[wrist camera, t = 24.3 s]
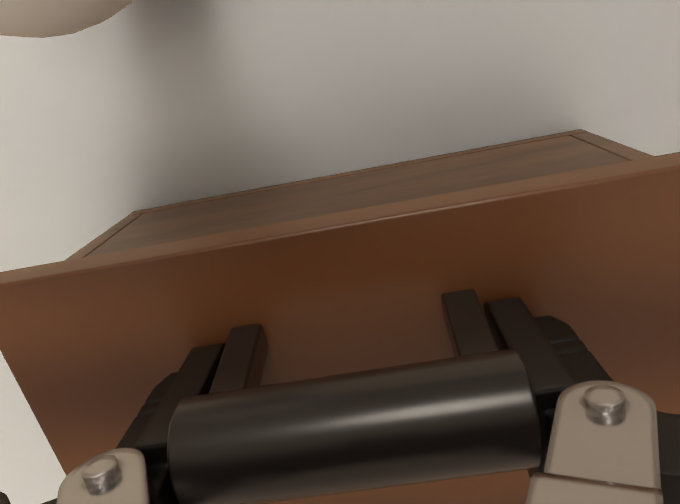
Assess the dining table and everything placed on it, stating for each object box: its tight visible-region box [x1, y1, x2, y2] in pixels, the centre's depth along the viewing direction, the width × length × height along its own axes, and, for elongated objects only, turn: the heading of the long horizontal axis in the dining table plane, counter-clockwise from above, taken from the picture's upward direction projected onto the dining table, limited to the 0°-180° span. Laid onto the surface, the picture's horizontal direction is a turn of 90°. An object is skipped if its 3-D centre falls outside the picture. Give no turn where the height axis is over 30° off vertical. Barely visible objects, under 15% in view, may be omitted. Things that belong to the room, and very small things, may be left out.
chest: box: [65, 129, 655, 261], centre depth 20 cm, size 17×16×6 cm
